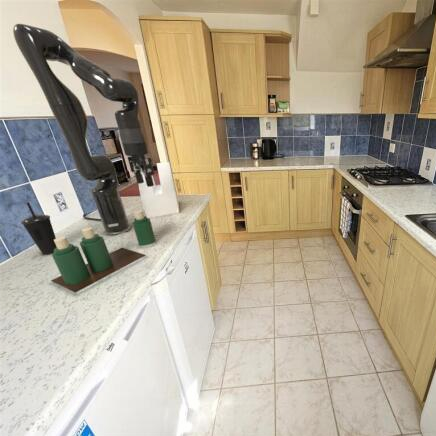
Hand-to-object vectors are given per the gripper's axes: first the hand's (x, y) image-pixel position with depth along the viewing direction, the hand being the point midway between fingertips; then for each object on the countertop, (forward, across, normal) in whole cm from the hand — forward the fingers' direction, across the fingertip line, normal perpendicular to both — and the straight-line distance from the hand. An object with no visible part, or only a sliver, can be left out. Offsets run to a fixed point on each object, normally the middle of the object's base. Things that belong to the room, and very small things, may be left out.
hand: (145, 184), depth 95 cm
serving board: (+23, +9, -23) cm, 34 cm away
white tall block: (+23, -31, +17) cm, 42 cm away
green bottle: (+23, +3, -6) cm, 24 cm away
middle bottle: (+22, +9, -23) cm, 33 cm away
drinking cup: (+22, -22, -31) cm, 44 cm away
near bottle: (+22, +10, -30) cm, 39 cm away
